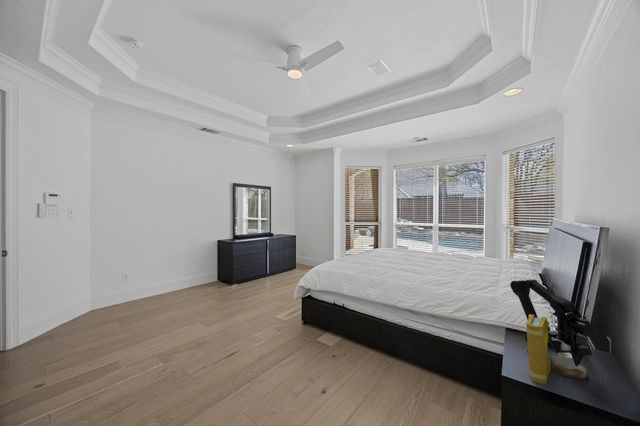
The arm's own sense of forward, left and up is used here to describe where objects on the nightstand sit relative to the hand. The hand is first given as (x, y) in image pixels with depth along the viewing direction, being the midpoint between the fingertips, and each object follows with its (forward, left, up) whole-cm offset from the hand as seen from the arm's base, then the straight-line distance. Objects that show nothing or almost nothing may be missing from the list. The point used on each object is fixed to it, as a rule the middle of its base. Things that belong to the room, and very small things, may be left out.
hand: (567, 360), depth 123 cm
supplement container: (+11, +31, -5) cm, 33 cm away
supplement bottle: (+16, +22, -5) cm, 28 cm away
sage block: (0, 0, -2) cm, 3 cm away
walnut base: (0, 0, -5) cm, 5 cm away
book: (-15, -2, -5) cm, 16 cm away
